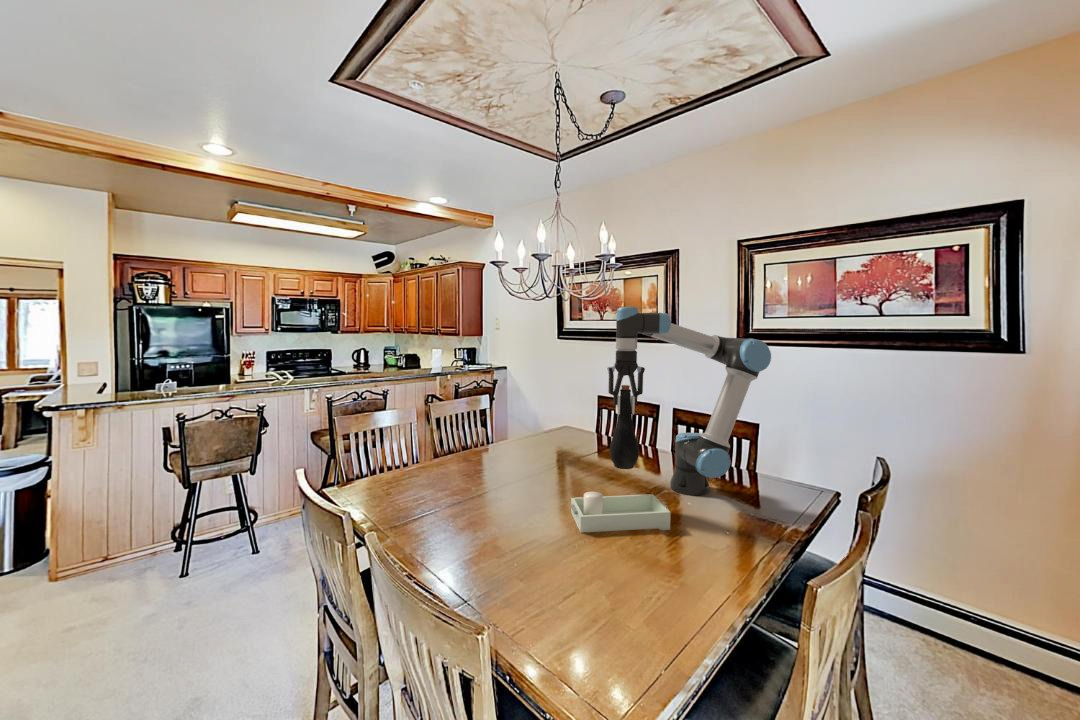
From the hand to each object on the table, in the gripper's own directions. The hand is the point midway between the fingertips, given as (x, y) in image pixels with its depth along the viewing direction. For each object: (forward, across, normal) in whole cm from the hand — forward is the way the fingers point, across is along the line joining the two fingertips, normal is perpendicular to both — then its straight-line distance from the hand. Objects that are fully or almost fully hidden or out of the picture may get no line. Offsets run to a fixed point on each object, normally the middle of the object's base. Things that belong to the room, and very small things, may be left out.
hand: (625, 413), depth 167 cm
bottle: (+20, 0, 0) cm, 20 cm away
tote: (+35, +5, +13) cm, 38 cm away
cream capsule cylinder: (+34, +14, +13) cm, 39 cm away
